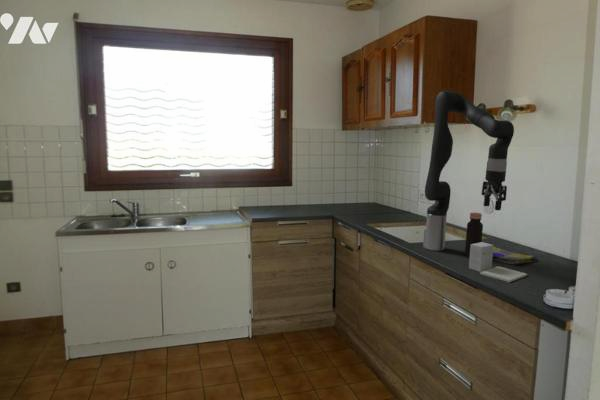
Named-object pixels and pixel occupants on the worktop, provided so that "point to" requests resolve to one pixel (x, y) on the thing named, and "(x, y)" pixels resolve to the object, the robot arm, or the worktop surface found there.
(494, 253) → the dish towel
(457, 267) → the worktop surface
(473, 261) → the small box
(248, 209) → the worktop surface
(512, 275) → the mat
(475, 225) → the bottle
